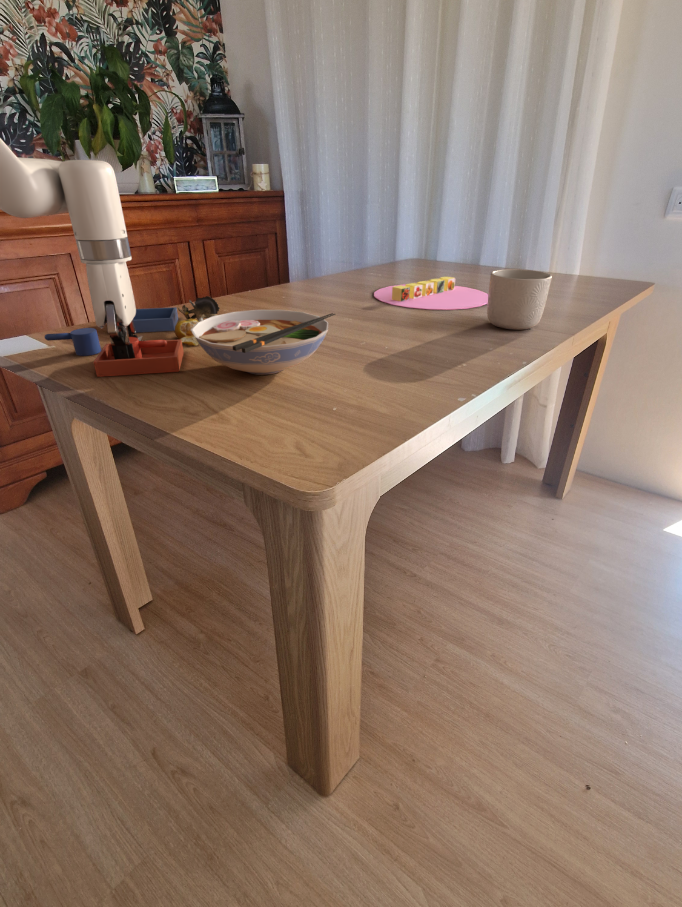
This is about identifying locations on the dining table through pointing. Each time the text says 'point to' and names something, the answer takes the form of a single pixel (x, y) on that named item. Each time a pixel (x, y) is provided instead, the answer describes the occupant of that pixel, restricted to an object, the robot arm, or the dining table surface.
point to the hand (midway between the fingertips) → (129, 360)
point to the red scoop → (145, 345)
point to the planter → (517, 298)
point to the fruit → (186, 331)
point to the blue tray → (155, 319)
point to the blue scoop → (80, 340)
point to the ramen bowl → (261, 339)
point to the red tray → (141, 360)
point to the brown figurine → (201, 308)
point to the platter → (432, 295)
